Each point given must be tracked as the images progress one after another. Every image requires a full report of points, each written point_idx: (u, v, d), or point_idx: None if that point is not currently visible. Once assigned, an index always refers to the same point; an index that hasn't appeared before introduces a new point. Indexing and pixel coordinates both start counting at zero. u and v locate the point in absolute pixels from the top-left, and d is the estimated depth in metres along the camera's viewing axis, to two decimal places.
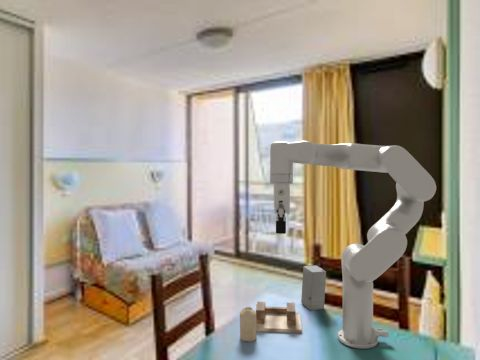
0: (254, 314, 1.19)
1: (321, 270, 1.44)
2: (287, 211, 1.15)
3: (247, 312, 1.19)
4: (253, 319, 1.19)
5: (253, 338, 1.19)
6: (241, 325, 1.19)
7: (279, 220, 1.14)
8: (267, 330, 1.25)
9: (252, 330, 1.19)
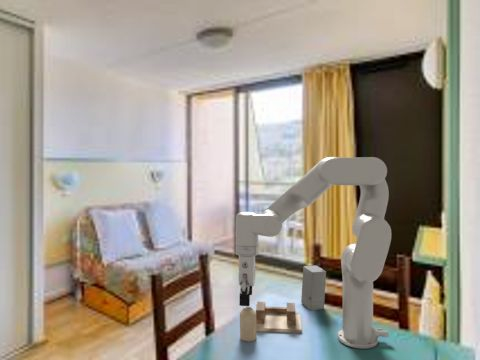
0: (254, 314, 1.19)
1: (321, 270, 1.44)
2: (251, 284, 1.15)
3: (247, 312, 1.19)
4: (253, 319, 1.19)
5: (253, 338, 1.19)
6: (241, 325, 1.19)
7: (242, 293, 1.14)
8: (267, 330, 1.25)
9: (252, 330, 1.19)
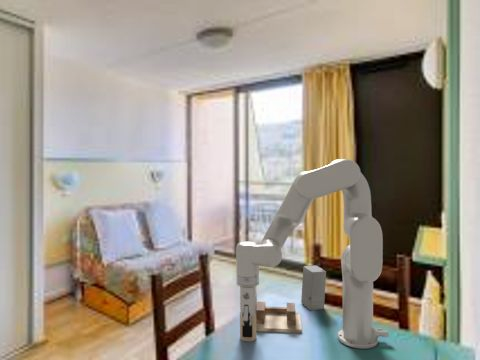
0: None
1: (321, 270, 1.44)
2: (252, 315, 1.16)
3: None
4: (253, 319, 1.19)
5: (253, 338, 1.19)
6: (241, 325, 1.19)
7: (245, 325, 1.16)
8: (267, 330, 1.25)
9: (252, 330, 1.19)
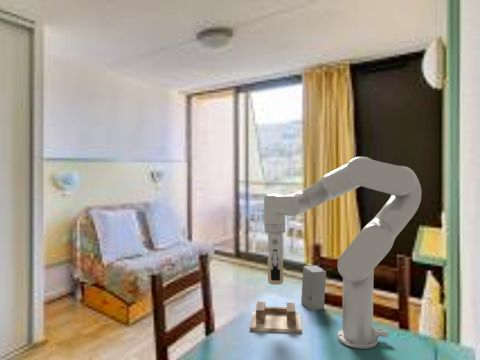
0: None
1: (321, 270, 1.44)
2: (281, 259, 1.25)
3: None
4: (281, 264, 1.29)
5: (280, 282, 1.29)
6: (269, 270, 1.29)
7: (274, 269, 1.26)
8: (267, 330, 1.25)
9: (280, 274, 1.29)
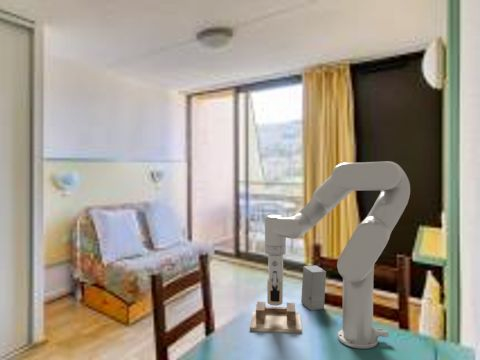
0: None
1: (321, 270, 1.44)
2: (280, 280, 1.26)
3: None
4: (280, 285, 1.29)
5: (280, 302, 1.30)
6: (269, 291, 1.30)
7: (273, 290, 1.27)
8: (267, 330, 1.25)
9: (279, 295, 1.29)
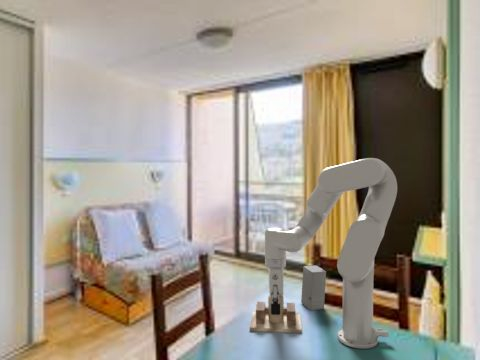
0: (282, 298, 1.30)
1: (321, 270, 1.44)
2: (281, 294, 1.26)
3: None
4: (281, 302, 1.29)
5: (281, 320, 1.29)
6: (270, 308, 1.30)
7: (274, 303, 1.26)
8: (267, 330, 1.25)
9: (280, 312, 1.29)
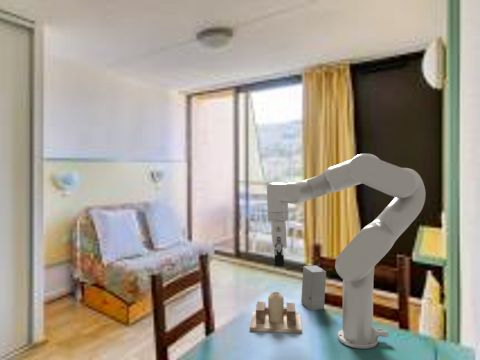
0: (282, 298, 1.30)
1: (321, 270, 1.44)
2: (284, 246, 1.27)
3: (275, 296, 1.29)
4: (281, 302, 1.29)
5: (281, 320, 1.29)
6: (270, 308, 1.30)
7: (277, 254, 1.26)
8: (267, 330, 1.25)
9: (280, 312, 1.29)
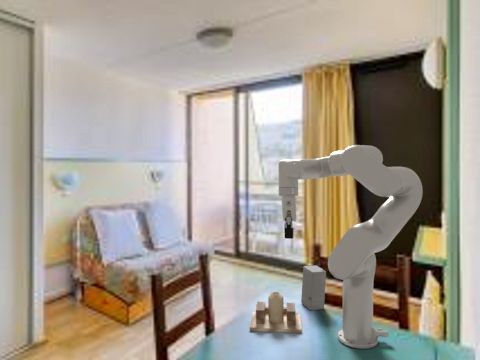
0: (282, 298, 1.30)
1: (321, 270, 1.44)
2: (294, 219, 1.34)
3: (275, 296, 1.29)
4: (281, 302, 1.29)
5: (281, 320, 1.29)
6: (270, 308, 1.30)
7: (287, 227, 1.34)
8: (267, 330, 1.25)
9: (280, 312, 1.29)
